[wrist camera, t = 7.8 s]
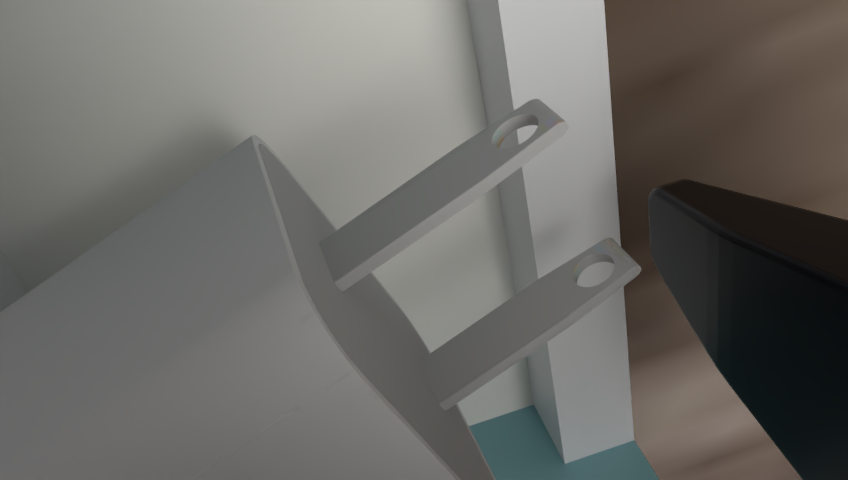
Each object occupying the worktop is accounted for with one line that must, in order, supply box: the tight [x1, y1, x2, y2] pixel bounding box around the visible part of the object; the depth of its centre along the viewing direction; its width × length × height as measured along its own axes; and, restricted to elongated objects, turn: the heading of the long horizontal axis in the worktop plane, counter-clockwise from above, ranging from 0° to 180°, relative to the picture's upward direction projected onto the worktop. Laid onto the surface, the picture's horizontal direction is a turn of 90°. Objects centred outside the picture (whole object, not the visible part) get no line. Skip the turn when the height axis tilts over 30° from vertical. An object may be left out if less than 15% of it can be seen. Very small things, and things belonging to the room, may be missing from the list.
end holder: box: [0, 0, 659, 480], centre depth 10 cm, size 13×10×4 cm
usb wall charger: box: [0, 99, 641, 480], centre depth 8 cm, size 4×7×4 cm, turn 120°
